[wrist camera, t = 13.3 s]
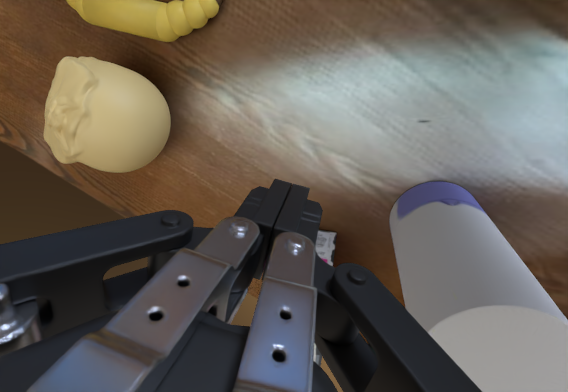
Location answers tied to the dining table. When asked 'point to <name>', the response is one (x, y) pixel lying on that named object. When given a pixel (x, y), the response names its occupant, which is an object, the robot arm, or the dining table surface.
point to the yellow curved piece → (148, 16)
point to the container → (476, 293)
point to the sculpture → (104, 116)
